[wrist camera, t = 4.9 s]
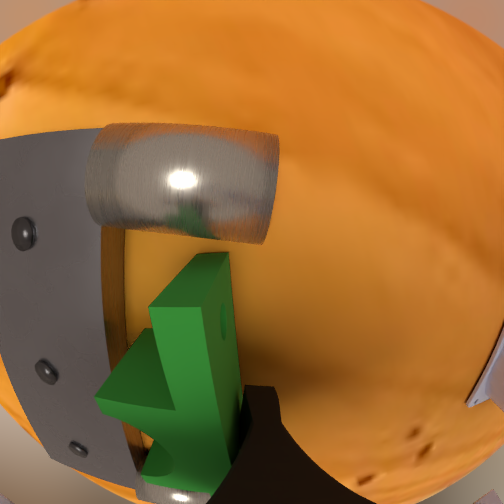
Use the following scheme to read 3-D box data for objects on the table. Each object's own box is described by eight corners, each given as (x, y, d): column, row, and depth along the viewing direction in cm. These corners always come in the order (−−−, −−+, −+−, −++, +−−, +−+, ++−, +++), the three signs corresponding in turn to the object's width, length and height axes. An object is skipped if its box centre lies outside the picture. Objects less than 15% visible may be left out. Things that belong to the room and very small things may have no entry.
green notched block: (132, 256, 10) (57, 300, 5) (229, 251, 10) (201, 304, 5) (183, 447, 12) (166, 509, 8) (249, 451, 12) (245, 519, 8)
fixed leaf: (268, 144, 9) (284, 123, 6) (221, 481, 13) (220, 518, 10) (11, 141, 8) (-35, 136, 5) (61, 441, 12) (46, 470, 9)
